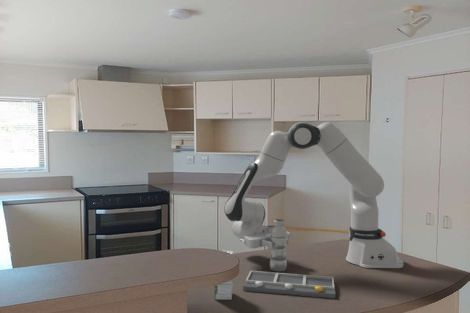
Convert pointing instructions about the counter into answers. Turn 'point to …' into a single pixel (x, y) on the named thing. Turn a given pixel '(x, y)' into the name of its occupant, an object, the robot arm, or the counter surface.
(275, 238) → the plastic bottle
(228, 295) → the syrup box
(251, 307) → the counter surface
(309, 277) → the board
